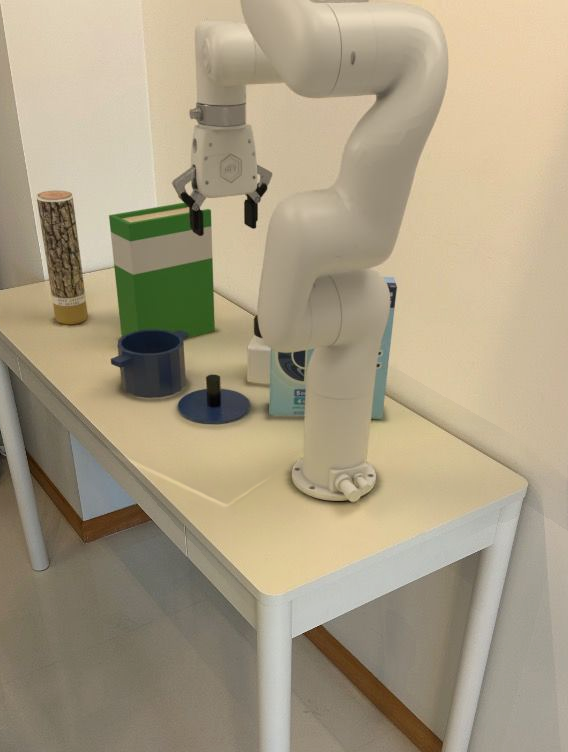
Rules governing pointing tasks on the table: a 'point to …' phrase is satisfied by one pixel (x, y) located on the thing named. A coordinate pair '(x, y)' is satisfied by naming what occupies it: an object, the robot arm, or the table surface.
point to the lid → (213, 404)
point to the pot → (152, 362)
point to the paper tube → (62, 256)
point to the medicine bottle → (258, 358)
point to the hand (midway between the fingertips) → (224, 230)
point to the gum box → (293, 367)
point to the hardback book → (163, 270)
